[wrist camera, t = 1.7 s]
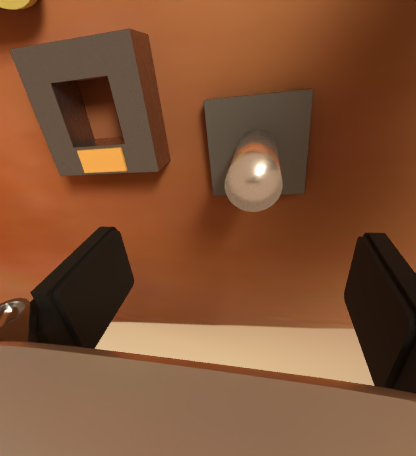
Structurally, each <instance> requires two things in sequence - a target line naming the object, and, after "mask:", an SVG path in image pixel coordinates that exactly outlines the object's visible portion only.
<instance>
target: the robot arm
mask: <svg viewBox="0 0 416 456" xmlns="http://www.w3.org/2000/svg"><path fill="white" fill-rule="evenodd" d="M133 284H134V278H133V274H132V271H131V267H130V264H129V261H128V257H127V254H126V250H125V247H124V244H123V240H122V237H121V234H120V232H119V231H118V230H117V229H116V228H115V227H100V228H98V229H97V230H96V231H95V232H94V233H93V234H92V235H91V236H90V237H89V238H88V239H87V240H85V241H84V242H83V243H82V244H81V245H80V246H79V247H78V248H77V249H76V250H75V251H74V252H73V253H72V254H71V255H70V256H69V257H67V258H66V259H65V260H64V261H63V262H62V263H61V264H60V265H59V266H58V267H57V268H56V269H55V270H54V271H53V272H52V273H50V274H49V275H48V276H47V277H46V278H45V279H44V280H43V281H42V282H41V283H40V284H39V285H38V286H37V287H36V288H35V289H33V290H32V291H31V292H30V293H31V294H32V296H33V298H34V299H33V300H32V301H31V302H29V300H27V299H25V298H14V299H11V300H7V301H5V302H3V303H0V456H416V273H415V272H414V271H413V270H412V269H411V267H410V266H409V265H408V263H407V262H406V261H405V259H404V258H403V257H402V255H401V254H400V253H399V251H398V250H397V249H396V247H395V246H394V245H393V243H392V242H391V241H390V239H389V238H388V237H387V235H386V234H385V233H365V234H364V235H363V237H358V239H357V243H356V247H355V251H354V255H353V259H352V263H351V267H350V271H349V275H348V280H347V284H346V288H345V292H344V299H345V303H346V306H347V309H348V312H349V315H350V317H351V320H352V323H353V326H354V329H355V332H356V334H357V337H358V340H359V343H360V346H361V348H362V351H363V354H364V357H365V360H366V363H367V365H368V368H369V371H370V374H371V377H372V380H373V382H374V385H375V386H371V385H364V384H358V383H351V382H344V381H337V380H331V379H323V378H317V377H310V376H301V375H294V374H287V373H278V372H272V371H264V370H257V369H249V368H242V367H234V366H226V365H219V364H211V363H203V362H195V361H188V360H180V359H172V358H164V357H156V356H148V355H140V354H132V353H124V352H116V351H107V350H99V349H95V347H96V345H97V344H98V342H99V340H100V339H101V337H102V336H103V334H104V332H105V331H106V329H107V327H108V326H109V324H110V323H111V321H112V319H113V318H114V316H115V314H116V313H117V311H118V310H119V308H120V306H121V305H122V303H123V301H124V300H125V298H126V296H127V295H128V293H129V292H130V290H131V288H132V287H133Z"/></svg>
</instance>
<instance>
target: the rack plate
mask: <svg viewBox="0 0 416 456" xmlns="http://www.w3.org/2000/svg"><path fill="white" fill-rule="evenodd" d="M9 50H10V53H11V55H12V58H13V60H14V63H15V65H16V67H17V70H18V72H19V75H20V77H21V80H22V82H23V85H24V87H25V90H26V92H27V95H28V97H29V100H30V102H31V105H32V107H33V110H34V112H35V115H36V117H37V120H38V122H39V124H40V127H41V129H42V132H43V134H44V137H45V139H46V142H47V144H48V147H49V149H50V152H51V154H52V157H53V159H54V162H55V164H56V167H57V169H58V172H59V174H60V176H71V175H93V174H115V173H137V172H159V171H160V170H161V169H162V168H163V167H164V166H165V165H166V164H167V163H168V162H169V161H170V155H169V149H168V144H167V138H166V133H165V127H164V121H163V116H162V110H161V104H160V99H159V93H158V88H157V82H156V76H155V71H154V65H153V60H152V54H151V48H150V43H149V37H148V34H145V33H142V32H139V31H135V30H132V29H124V30H118V31H113V32H107V33H101V34H95V35H90V36H84V37H78V38H73V39H67V40H61V41H55V42H50V43H44V44H38V45H32V46H27V47H21V48H15V49H9ZM101 78H108V80H109V84H110V88H111V92H112V95H113V99H114V103H115V107H116V111H117V115H118V119H119V123H120V126H121V130H122V134H123V137H118V138H105V139H94V136H93V133H92V130H91V127H90V124H89V120H88V117H87V114H86V111H85V108H84V104H83V101H82V98H81V95H80V92H79V88H78V85H77V82H79V81H86V80H94V79H101Z"/></svg>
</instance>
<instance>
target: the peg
mask: <svg viewBox="0 0 416 456" xmlns="http://www.w3.org/2000/svg"><path fill="white" fill-rule="evenodd" d="M282 186H283V183H282V176H281V170H280V163H279V157H278V151H277V145H276V141H275V139H274V138H273V136H272V135H271V134H270V133H268V132H267V131H264V130H259V129H256V130H252V131H249V132H247V133H246V134H244V135H243V136H242V138H241V139H240V141H239V143H238V146H237V148H236V151H235V154H234V156H233V159H232V162H231V165H230V167H229V170H228V173H227V176H226V179H225V192H226V195H227V197H228V199H229V200H230V202H231V203H232V204H233V205H234V206H236V207H237V208H239V209H241V210H244V211H248V212H258V211H262V210H265V209H267V208H269V207H271V206H272V205H273V204H274V203H275V202H276V201H277V200H278V198H279V197H280V195H281V192H282Z"/></svg>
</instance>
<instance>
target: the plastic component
mask: <svg viewBox="0 0 416 456" xmlns="http://www.w3.org/2000/svg"><path fill="white" fill-rule="evenodd" d="M36 1H37V0H0V7H1V8H5V9H25V8H29V7H31V6H32V5H34V4H35V3H36Z"/></svg>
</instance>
